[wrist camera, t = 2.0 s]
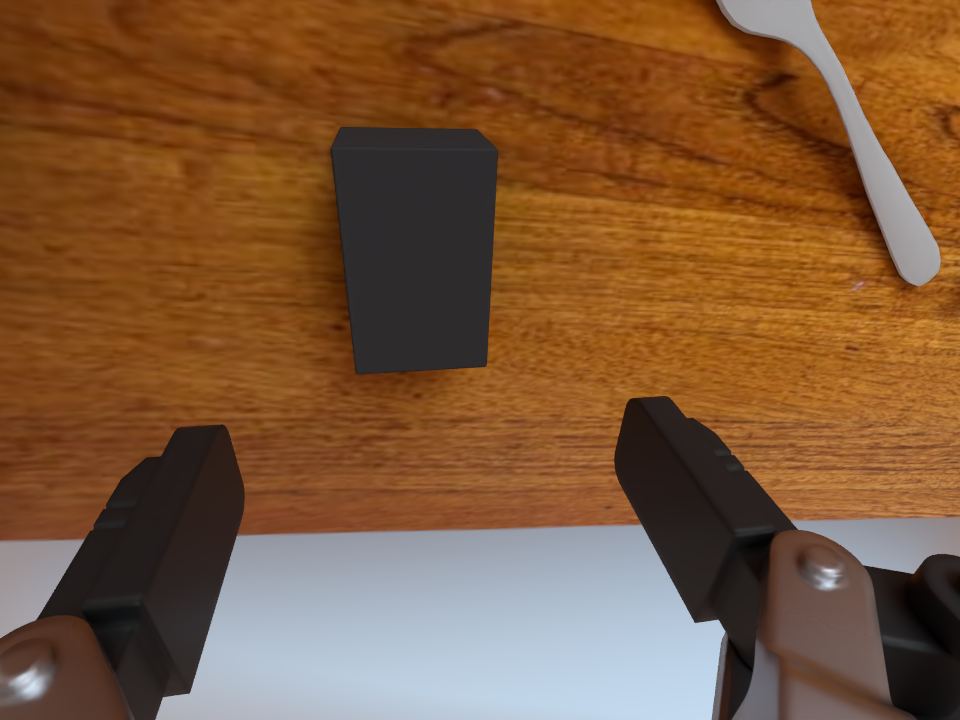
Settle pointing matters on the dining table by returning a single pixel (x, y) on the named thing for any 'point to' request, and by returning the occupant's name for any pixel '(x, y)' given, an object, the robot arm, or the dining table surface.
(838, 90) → the fork
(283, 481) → the dining table surface
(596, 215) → the dining table surface
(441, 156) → the pad
